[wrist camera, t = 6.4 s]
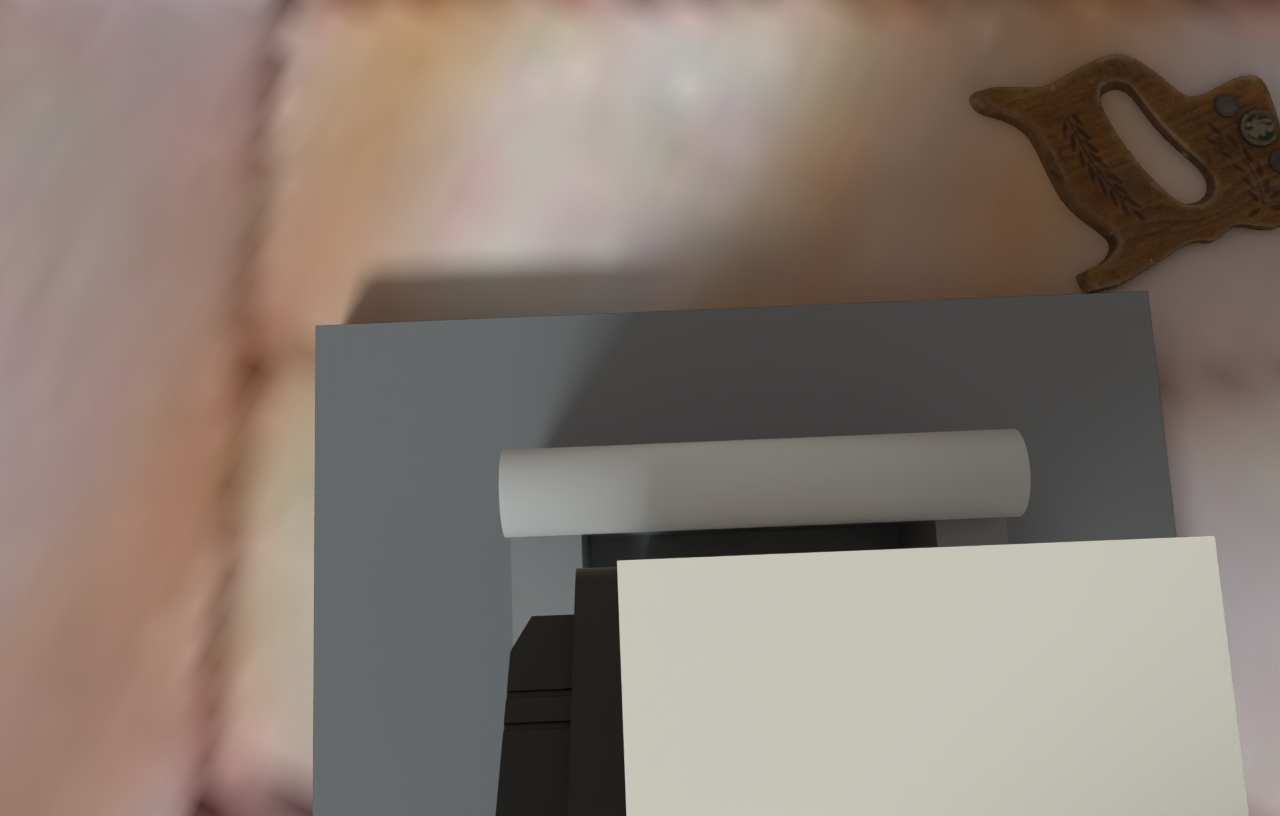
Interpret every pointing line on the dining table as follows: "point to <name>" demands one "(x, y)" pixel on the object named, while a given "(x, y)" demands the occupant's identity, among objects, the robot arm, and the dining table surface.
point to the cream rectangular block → (931, 682)
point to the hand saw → (1120, 188)
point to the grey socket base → (675, 481)
